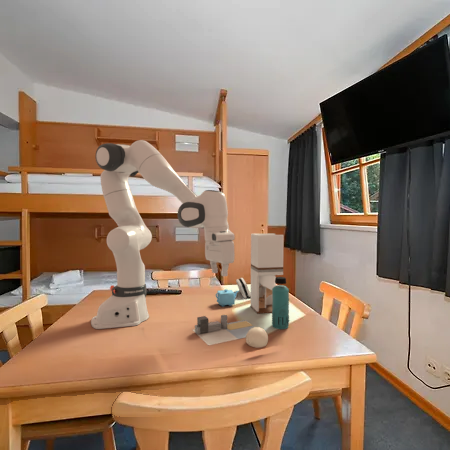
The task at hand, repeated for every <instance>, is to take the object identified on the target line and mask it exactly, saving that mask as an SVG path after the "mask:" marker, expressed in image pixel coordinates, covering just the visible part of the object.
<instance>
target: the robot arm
mask: <svg viewBox="0 0 450 450" xmlns="http://www.w3.org/2000/svg"><path fill="white" fill-rule="evenodd" d="M159 151H160V150H159ZM159 151H158V149H157V148H155V146H153V145H152V144H151V143H149V142H148V141H146V140H144V139H140V140H136V141H134V142H133V143H131V145H128V144H124V143H123V144H119V143H117V144H116V143H111V142H110V143H109V142H107V143H102V144H100V145H99V146H98V147H97V149H96V151H95V155H94V156H95V162H96V165H98V167H99V168H100V169H102V170H103V171H102V172H101V173H100V184H101V185H100V187H101V191H102V195H103V199H104V202H105V206H106V209H107V212H108V215H109V217H110V218H111V219H112V220H114V222H115V223H116V225H117V226H118V227H114V228H113V229H111V230H110V231H109V232H108V234H107V236H106V244H107V247H108V249H109V250H110V251H111V252H112V254H113V257H114V260H115V266H116V278H117V280H116V284H115V285H110V287H109V290H110V291H111V295H110V296H109V297H108V298H107V299H106V300H104V301H103V302H102V303H101V304H100V305H99V307H98V308H97V313H96V315H95V316H93V317H92V318H91V320H90V324H91V325H90V326H91V327H92V328H93V329H96V330H103V329H111V328H112V329H113V328H122V327H135V326H138V325H140V324H141V323H142V322H144V321H146V320H148V319H149V318H150V314H149V312H148V307H147V299H146V298H147V284H146V265H145V264H144V262H143V260H142V257H141V253H140V251H141V250H144V249H145V248H146V247H148V246H149V245H150V243H151V241H152V239H153V235H152V232H151V230H150V229H149V228H148V227H147V225H146V224H145V222H144V220H143V218H142V217H141V215H140V213H139V211H138V208H137V206H136V203H135V200H134V196H133V193H132V189H131V186H130V184H129V177H135V176H137V174H139V175H141V177H142V178H143V179H144V180H145V181H146V182H147V183H149V184H150V185H151V186H153V187H155V188H158V189H161V190H163V191H166V192H168V193H170V194H171V195H173V196H174V197H176V198H177V200H178V201H180V202H181V205H180V206H179V207H178V210H177V219H178V222H179V223H180V225H182V226H183V227H185V228H189V229H203V230H204V232H203V233H204V235H203V236H204V256H205V260H206V261H209V264H210V267H211V273H213V274H218V272H219V268H218V265H217V263H219V264H221V271H220V276H222V277H228V275H229V274H228V272H229V268H230V267H229V264H233V263H234V262H235V256H236V255H235V254H236V253H235V242H234V241H235V239H236V238H235V237H236V236H235V233H234V232H232V231H231V230H230V225H229V222H228V216H229V213H228V212H229V211H228V209H229V208H228V203H227V197H226V195H225V193H224V192H222V191H219V190H215V189H205V190H203V192H201V194H200V195H197V194H196V193H195V192H194V191H193V190H192V189H191V188H190V187H189V186H188V185H187V184H186V183H185V182H184V181H183V179H182V178H181V177H180V176H179V175H178V173H177V171H175V170H174V169H173V167H172V166H171V164H170V163H169V162H168V161H167V159H166V158H165V157H164V156H163V155H162V153H161V152H159Z"/></svg>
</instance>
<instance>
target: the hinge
mask: <svg viewBox="0 0 450 450" xmlns="http://www.w3.org/2000/svg"><path fill="white" fill-rule="evenodd" d="M235 281H236V285H237V287H238V291H239V292H240V294H241V296H242V297H243V298H244V299H247V298H251V290H249V287H248V285H247V282H246V280H245V279H244V278H243V277H239V278H237V279H236V280H235Z"/></svg>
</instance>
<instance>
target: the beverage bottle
mask: <svg viewBox="0 0 450 450" xmlns="http://www.w3.org/2000/svg"><path fill="white" fill-rule="evenodd" d="M275 277H276V278H275V283H276V286H275V287H273V289H272V313H271V326H272V328H274V329H277V330H286V329H288V328H289V326H290V325H289V323H290V316H289V314H290V294H289V293H290V292H289V291H290V290H289V288H288V287H287V286H286V284H287V278H286V277H284V276H275Z"/></svg>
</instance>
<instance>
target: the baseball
mask: <svg viewBox="0 0 450 450" xmlns="http://www.w3.org/2000/svg"><path fill="white" fill-rule="evenodd" d="M245 341H246V343H245V344H247V346H250V347H253V348H257V349H258V348H260V349H262V348H264V347H266V346H267V344H268V343H269V342H268V341H269V336H268V333H267V332H266V330H265V329H264V328H262V327H260V326H254V327H253V328H251V329H250V330H249V331H248V333H247V334H246V338H245Z"/></svg>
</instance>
